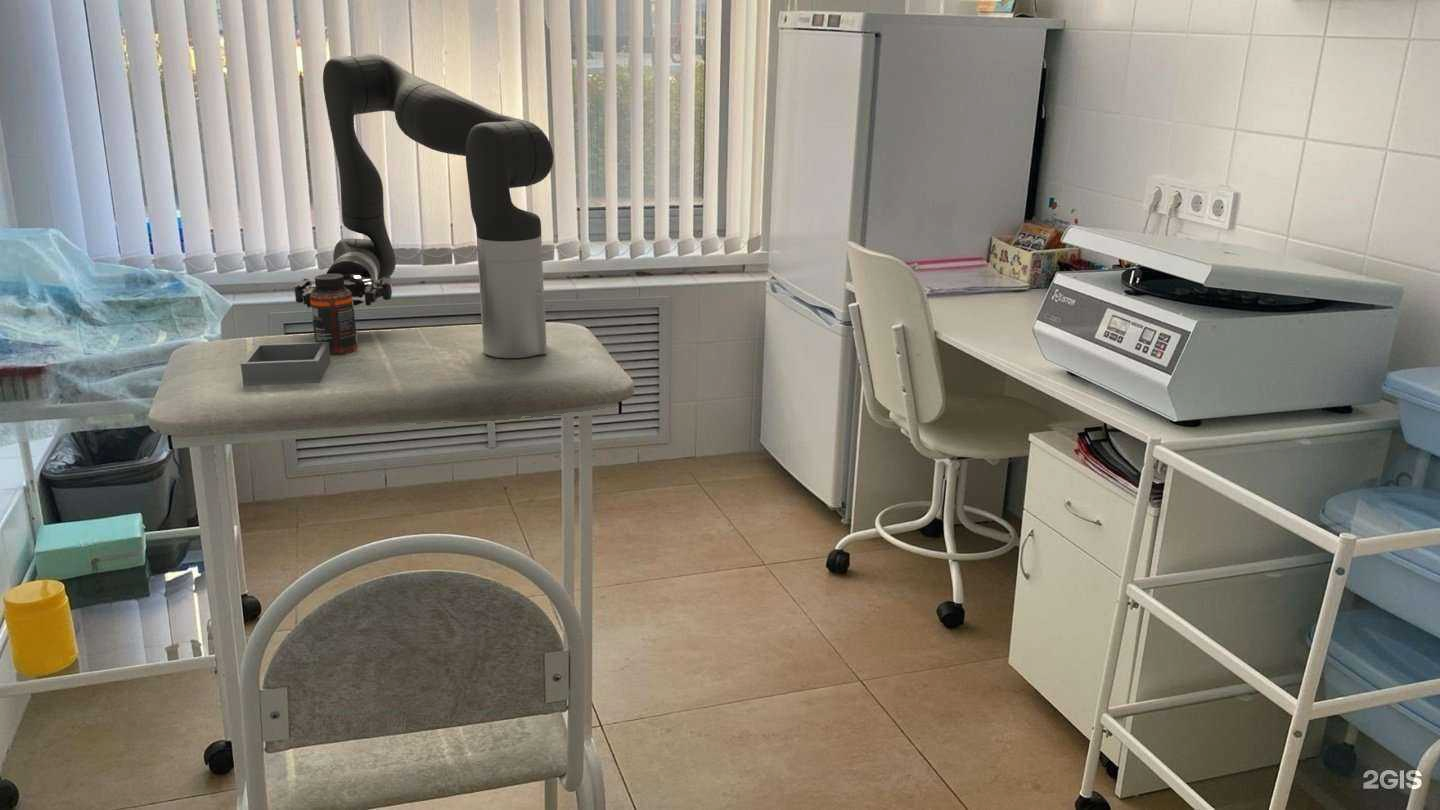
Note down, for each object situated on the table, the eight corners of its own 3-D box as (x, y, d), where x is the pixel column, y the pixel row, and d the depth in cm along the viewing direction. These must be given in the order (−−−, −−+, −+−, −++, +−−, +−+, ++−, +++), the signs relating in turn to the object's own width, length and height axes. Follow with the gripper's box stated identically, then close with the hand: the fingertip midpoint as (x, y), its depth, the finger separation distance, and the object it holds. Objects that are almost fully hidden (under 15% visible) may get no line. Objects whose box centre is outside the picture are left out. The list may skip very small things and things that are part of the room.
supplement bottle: (364, 346, 172) (357, 272, 168) (348, 357, 166) (340, 280, 163) (326, 344, 172) (318, 271, 169) (308, 355, 167) (300, 279, 163)
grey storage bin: (330, 361, 164) (328, 341, 163) (320, 382, 154) (318, 360, 153) (258, 364, 162) (255, 344, 161) (243, 385, 153) (240, 363, 152)
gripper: (304, 256, 185) (286, 276, 170) (395, 254, 187) (385, 273, 172) (309, 301, 187) (291, 325, 172) (398, 298, 190) (389, 322, 175)
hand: (338, 299), depth 172 cm, fingers open, 8 cm apart
